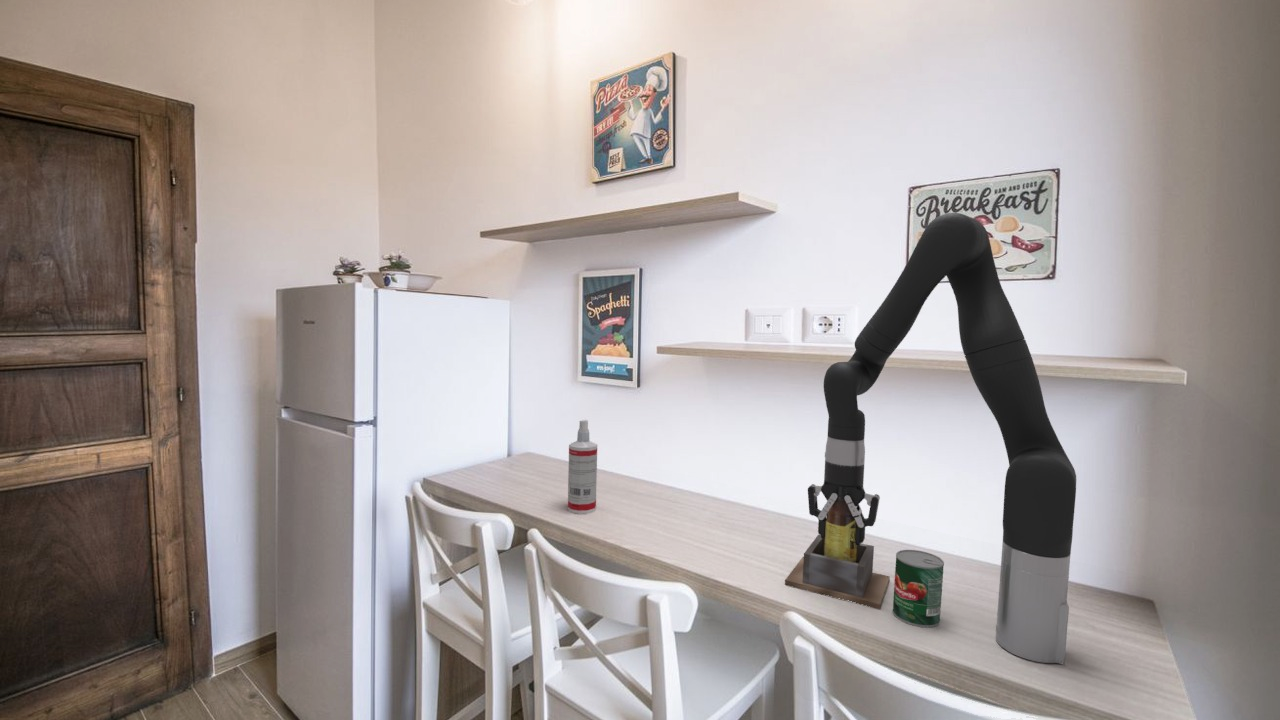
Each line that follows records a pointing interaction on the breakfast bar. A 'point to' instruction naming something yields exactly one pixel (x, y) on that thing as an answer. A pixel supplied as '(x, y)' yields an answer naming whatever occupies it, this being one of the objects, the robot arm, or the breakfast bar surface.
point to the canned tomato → (918, 588)
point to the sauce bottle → (840, 530)
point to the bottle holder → (840, 575)
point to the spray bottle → (582, 473)
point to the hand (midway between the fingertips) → (840, 540)
